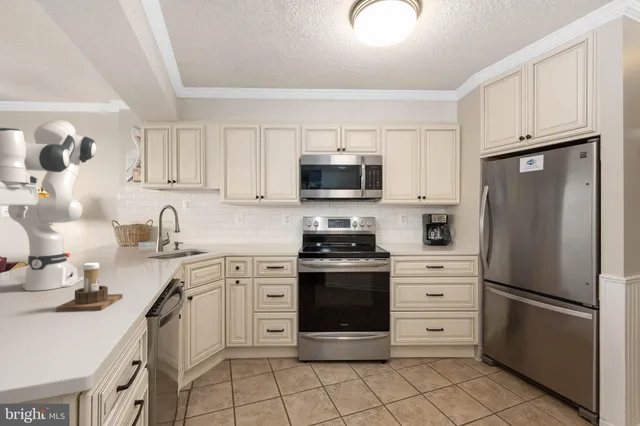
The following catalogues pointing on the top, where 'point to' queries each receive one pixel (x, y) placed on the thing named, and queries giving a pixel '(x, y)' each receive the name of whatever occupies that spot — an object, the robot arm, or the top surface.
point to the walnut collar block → (90, 300)
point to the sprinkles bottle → (91, 277)
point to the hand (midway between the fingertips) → (8, 219)
